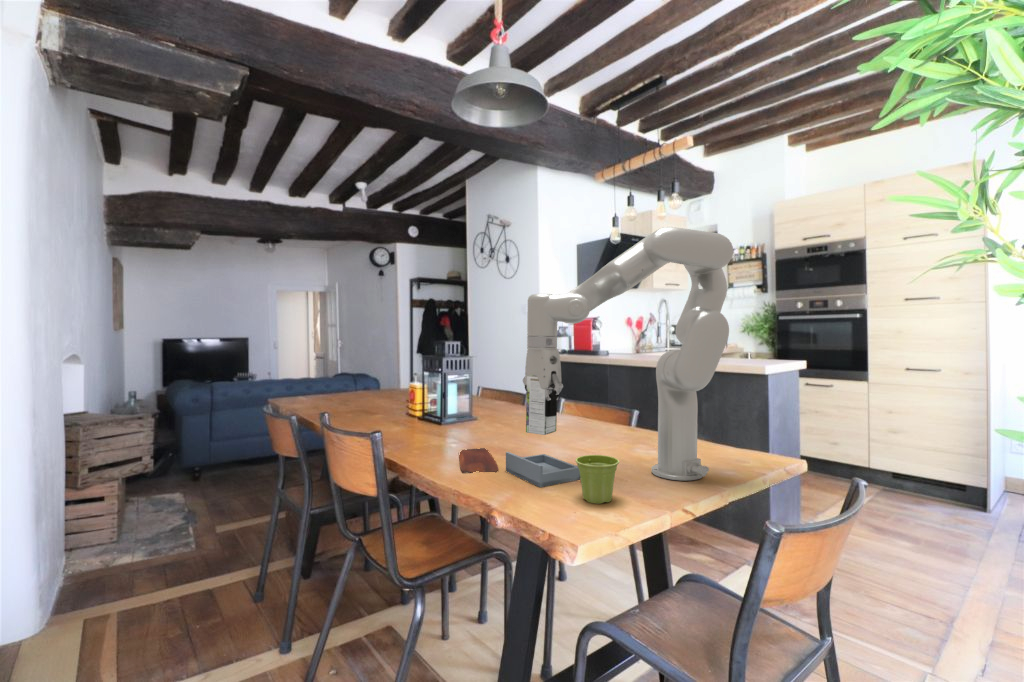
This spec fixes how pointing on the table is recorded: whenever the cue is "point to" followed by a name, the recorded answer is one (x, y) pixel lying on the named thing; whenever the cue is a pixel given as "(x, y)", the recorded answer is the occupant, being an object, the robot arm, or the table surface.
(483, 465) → the wooden tablet
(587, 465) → the plant pot
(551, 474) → the tray
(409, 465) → the table surface
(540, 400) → the syrup box
